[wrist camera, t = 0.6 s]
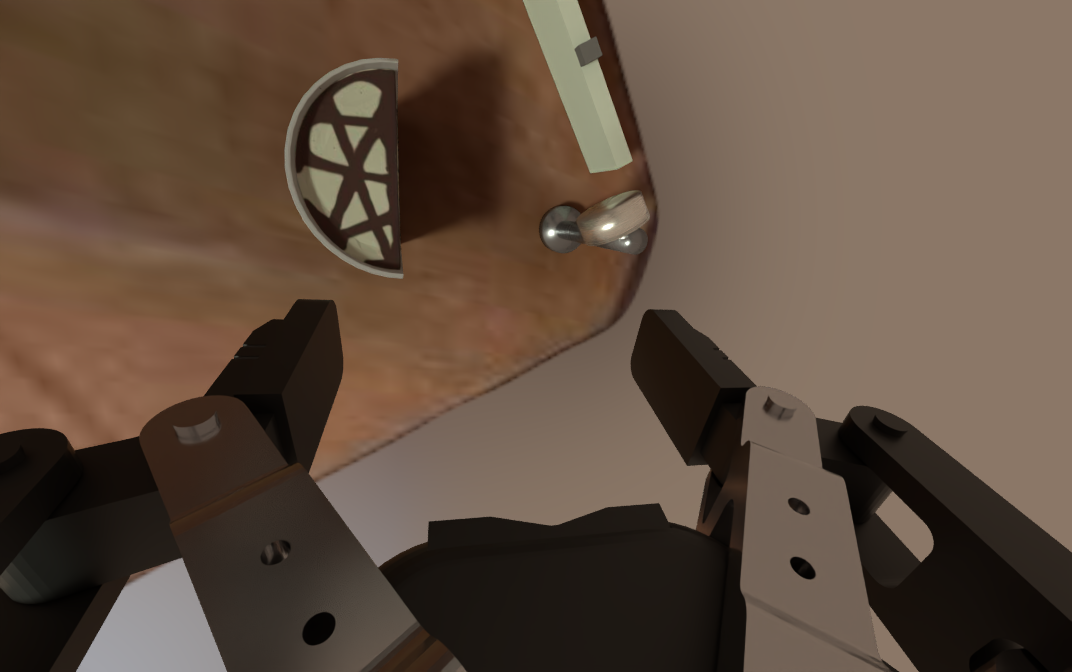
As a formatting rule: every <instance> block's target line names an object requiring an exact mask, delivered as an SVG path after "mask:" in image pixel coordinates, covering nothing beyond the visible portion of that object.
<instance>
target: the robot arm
mask: <svg viewBox="0 0 1072 672" xmlns="http://www.w3.org/2000/svg"><path fill="white" fill-rule="evenodd" d="M631 372H632V375H633V378H634V380H635V381H636V383H637V385H638V386H639V388H640V390H641V391H642V392H643V394H644V396H645V398H646V399H647V401H648V403H649V404H650V406H651V407H652V409H653V411H654V412H655V414H656V416H657V417H658V419H659V420H660V422H661V424H662V425H663V427H664V429H665V430H666V432H667V434H668V435H669V437H670V439H671V440H672V442H673V443H674V445H675V447H676V448H677V450H678V451H679V453H680V455H681V457H682V458H683V459H684V461H685V463H686V465H687V466H691V465H709V467H710V468H711V469H710V471H709V473H708V475H707V478H706V481H705V485H704V490H703V496H702V501H701V506H700V511H699V516H698V521H697V526H696V530H694V529H691V528H688V527H686V526H682V525H678V524H675V523H670V522H668V521H667V519H666V516H665V514H664V512H663V510H662V508H661V506H660V504H659V503H657V504H645V505H631V506H620V507H608V508H604V509H602V510H599V511H596V512H593V513H590V514H587V515H585V516H582V517H579V518H576V519H574V520H571V521H568V522H565V523H562V524H560V525H554V526H549V525H541V524H535V523H528V522H522V521H515V520H509V519H502V518H496V517H481V518H469V519H455V520H443V521H430V522H429V528H428V529H429V530H428V542H426V543H423V544H420V545H417V546H414V547H412V548H410V549H408V550H406V551H404V552H402V553H400V554H398V555H396V556H395V557H393V558H392V559H390V560H388V561H386V562H385V563H383V564H382V565H381V566H380V567H377V566H376V564H375V563H374V562H373V560H372V559H371V558H370V556H369V555H368V553H367V552H366V551H365V549H364V548H363V547H362V545H361V544H360V543H359V541H358V540H357V539H356V537H355V536H354V534H353V533H352V532H351V530H350V529H349V528H348V527H347V525H346V524H345V522H344V521H343V520H342V518H341V517H340V515H339V514H338V513H337V511H336V510H335V509H334V507H333V506H332V505H331V503H330V502H329V501H328V499H327V498H326V497H325V495H324V494H323V492H322V491H321V490H320V489H319V487H318V486H317V484H316V483H315V482H314V480H313V479H312V478H311V476H310V475H309V471H310V468H311V465H312V462H313V460H314V457H315V454H316V451H317V448H318V445H319V442H320V440H321V437H322V434H323V431H324V428H325V425H326V422H327V420H328V417H329V414H330V411H331V408H332V405H333V402H334V400H335V397H336V394H337V391H338V388H339V385H340V382H341V379H342V374H343V352H342V345H341V338H340V330H339V323H338V316H337V309H336V305H335V303H334V301H333V300H308V299H298V300H297V301H296V302H295V303H294V305H293V306H292V308H291V309H290V311H289V312H288V314H287V315H286V317H285V318H284V320H279V319H272V320H271V321H269V322H267V323H266V324H264V325H262V326H261V327H259V328H257V329H256V330H254V331H253V332H252V333H251V335H250V336H249V337H248V338H247V340H246V341H245V342H244V344H243V347H241V348H240V349H239V350H238V352H237V353H236V354H235V356H234V359H231V361H230V362H229V363H228V365H227V366H226V367H225V369H224V370H223V371H222V373H221V374H220V375H219V377H218V378H217V379H216V380H215V382H214V383H213V384H212V386H211V387H210V388H209V390H208V391H207V392H206V394H205V395H204V396H203V397H198V398H193V399H190V400H186V401H183V402H181V403H178V404H175V405H173V406H171V407H169V408H167V409H165V410H163V411H162V412H160V413H159V414H157V415H156V416H154V417H153V418H152V419H151V420H150V421H149V422H147V424H146V425H145V426H144V427H143V429H142V431H141V433H140V436H138V437H134V438H130V439H126V440H121V441H117V442H112V443H107V444H103V445H98V446H93V447H89V448H84V449H79V450H75V451H74V449H73V447H72V446H71V444H70V442H69V441H68V439H67V437H66V436H65V435H64V434H63V433H61V432H59V431H56V430H52V429H44V428H33V429H23V430H17V431H12V432H7V433H3V434H0V672H76V670H77V669H78V667H79V665H80V663H81V661H82V660H83V658H84V656H85V655H86V653H87V651H88V649H89V647H90V646H91V644H92V642H93V640H94V639H95V637H96V635H97V633H98V632H99V630H100V628H101V626H102V625H103V623H104V621H105V619H106V617H107V616H108V614H109V612H110V610H111V609H112V607H113V605H114V603H115V602H116V600H117V598H118V596H119V595H120V593H121V591H122V589H123V588H124V586H125V584H126V582H127V580H128V579H129V577H130V575H131V574H134V573H137V572H140V571H143V570H146V569H149V568H152V567H155V566H158V565H161V564H164V563H167V562H170V561H173V560H176V559H179V558H183V561H184V563H185V566H186V568H187V571H188V573H189V576H190V579H191V581H192V584H193V586H194V589H195V591H196V593H197V596H198V599H199V601H200V604H201V606H202V609H203V612H204V614H205V617H206V619H207V622H208V624H209V627H210V629H211V632H212V634H213V637H214V639H215V642H216V644H217V647H218V649H219V652H220V655H221V657H222V659H223V662H224V665H225V667H226V670H227V672H899V671H897V670H896V669H894V668H893V667H892V666H890V665H889V664H888V663H886V662H885V661H883V660H882V659H881V658H880V655H879V653H878V649H877V644H876V639H875V634H874V628H873V623H872V618H871V613H870V608H869V605H870V607H871V608H872V609H873V611H874V612H875V613H876V615H877V616H878V617H879V619H880V620H881V621H882V623H883V624H884V626H885V627H886V628H887V629H888V631H889V632H890V634H891V635H892V636H893V638H894V639H895V640H896V642H897V643H898V644H899V646H900V647H901V648H902V650H903V651H904V652H905V654H906V655H907V657H908V658H909V659H910V660H911V662H912V663H913V665H914V666H915V667H916V669H917V670H918V671H919V672H1072V552H1070V551H1069V550H1068V549H1067V548H1065V547H1064V546H1063V545H1062V544H1060V543H1059V542H1058V541H1057V540H1055V539H1054V538H1053V537H1051V536H1050V535H1049V534H1048V533H1046V532H1045V531H1044V530H1043V529H1042V528H1040V527H1039V526H1038V525H1037V524H1035V523H1034V522H1033V521H1032V520H1030V519H1029V518H1028V517H1026V516H1025V515H1024V514H1023V513H1022V512H1020V511H1019V510H1018V509H1016V508H1015V507H1014V506H1013V505H1011V504H1010V503H1009V502H1008V501H1006V500H1005V499H1004V498H1003V497H1001V496H1000V495H999V494H998V493H996V492H995V491H994V490H993V489H991V488H990V487H989V486H988V485H986V484H985V483H984V482H983V481H981V480H980V479H979V478H978V477H976V476H975V475H974V474H972V473H971V472H970V471H969V470H968V469H966V468H965V467H964V466H962V465H961V464H960V463H959V462H958V461H956V460H955V459H954V458H952V457H951V456H950V455H949V454H948V453H946V452H945V451H944V450H942V449H941V448H940V447H939V446H937V445H936V444H935V443H934V442H932V441H931V440H930V439H929V438H927V437H926V436H925V435H924V434H922V433H921V432H920V431H919V430H917V429H916V428H915V427H914V426H912V425H911V424H909V423H908V422H906V421H905V420H903V419H901V418H899V417H897V416H895V415H893V414H891V413H888V412H886V411H884V410H880V409H877V408H873V407H868V406H856V407H853V408H852V409H851V410H850V412H849V413H848V415H847V416H846V418H845V420H844V421H843V423H840V422H834V421H829V420H825V419H819V418H815V415H814V413H813V412H812V411H811V409H810V408H809V407H808V406H807V405H806V404H805V403H803V402H802V401H801V400H799V399H798V398H796V397H794V396H792V395H790V394H788V393H786V392H784V391H781V390H778V389H775V388H770V387H763V386H758V387H757V386H756V385H755V384H754V383H753V382H752V381H751V380H750V379H749V378H748V377H747V376H746V375H745V374H744V373H743V372H742V371H741V370H740V369H739V368H738V367H737V366H736V365H735V364H734V363H733V362H732V361H731V360H728V357H727V356H726V355H725V354H724V353H723V352H722V351H721V350H719V348H718V347H717V346H716V345H715V344H714V343H713V342H712V341H711V340H710V339H709V338H708V337H707V336H705V335H703V334H702V333H700V332H698V331H697V330H695V329H693V327H692V326H691V325H690V324H689V323H688V322H687V321H686V320H685V319H684V318H683V317H682V316H681V315H680V314H679V313H678V312H677V311H675V310H653V309H650V310H647V311H646V312H645V314H644V315H643V318H642V321H641V324H640V328H639V332H638V335H637V339H636V342H635V346H634V350H633V353H632V357H631ZM892 491H893V492H894V493H895V494H896V495H897V496H898V497H899V498H900V499H902V501H903V502H904V503H905V504H906V505H907V506H908V507H909V508H910V509H911V510H912V511H913V512H915V513H916V515H918V516H919V517H920V519H921V520H923V522H924V523H925V524H926V525H927V526H928V528H929V529H930V531H931V533H932V536H933V540H934V546H933V550H932V552H931V553H930V554H929V555H928V556H927V557H926V558H925V559H924V560H923V561H922V562H920V561H919V560H918V559H917V558H916V557H915V556H914V555H913V553H912V552H911V551H910V550H909V549H908V548H907V547H906V546H905V545H904V544H903V543H902V542H901V540H899V538H898V537H897V536H896V535H895V534H894V533H893V532H892V531H891V529H890V528H889V527H888V526H887V525H886V524H885V523H884V522H883V521H882V520H881V519H880V517H879V516H878V515H877V514H876V513H875V512H876V510H877V509H878V508H879V507H880V506H881V504H882V503H883V502H884V501H885V499H886V498H887V497H888V496H889V494H890V493H891V492H892Z"/></svg>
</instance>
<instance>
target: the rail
mask: <svg viewBox="0 0 1072 672" xmlns="http://www.w3.org/2000/svg"><path fill="white" fill-rule="evenodd" d="M523 2H524V5H525V7H526V10H527V12H528V15H529V17H530V20H531V23H532V25H533V28H534V30H535V33H536V35H537V38H538V40H539V43H540V46H541V48H542V51H543V53H544V56H545V58H546V61H547V63H548V66H549V69H550V71H551V74H552V76H553V79H554V81H555V84H556V86H557V89H558V92H559V94H560V97H561V99H562V102H563V104H564V107H565V109H566V112H567V115H568V117H569V120H570V122H571V125H572V127H573V130H574V133H575V135H576V138H577V140H578V143H579V145H580V148H581V150H582V153H583V156H584V158H585V161H586V163H587V166H588V168H589V171H590V173H595V172H602V171H609V170H616V169H619V168H621V167H623V166H624V165H626V164H628V163H630V162H631V161H633V160H632V157H631V155H630V152H629V149H628V146H627V143H626V140H625V137H624V134H623V131H622V128H621V126H620V123H619V120H618V117H617V114H616V111H615V108H614V105H613V102H612V99H611V97H610V94H609V91H608V88H607V85H606V82H605V79H604V76H603V73H602V70H601V68H600V65H599V62H598V58H599V57H601V56H602V52H601V49H600V46H599V43H598V40H597V37H594V38H592V39H590V36H589V33H588V30H587V27H586V24H585V21H584V18H583V15H582V12H581V10H580V7H579V4H578V1H577V0H523Z"/></svg>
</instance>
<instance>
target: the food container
mask: <svg viewBox="0 0 1072 672" xmlns="http://www.w3.org/2000/svg"><path fill="white" fill-rule="evenodd" d="M397 95H398V59H388V58H374V59H363V60H359V61H355V62H352V63H348V64H345V65H343V66H341V67H339V68H337V69H335V70H333V71H331V72H329V73H327V74H326V75H325V76H323V77H322V78H321V79H320V80H318V81H317V82H316V83H315V84H314V85H313V86H312V87H311V88H310V89H309V90H308V91H307V93H306V94H305V95H304V96H303V97H302V99H301V101H300V103H299V104H298V106H297V108H296V109H295V111H294V113H293V116H292V119H291V122H290V124H289V127H288V131H287V137H286V144H285V171H286V176H287V182H288V187H289V190H290V192H291V195H292V198H293V201H294V204H295V206H296V208H297V209H298V211H299V213H300V215H301V217H302V219H303V221H304V222H305V223H306V225H307V226H308V227H309V229H310V230H311V231H312V233H313V234H314V235H315V236H316V237H317V238H318V239H319V240H320V241H321V243H322V244H323V245H324V246H325V247H326V248H328V249H329V250H330V251H331V252H333V253H334V254H335V255H337V256H338V257H339V258H341V259H342V260H344V261H346V262H348V263H349V264H351V265H353V266H355V267H356V268H359V269H362V270H364V271H367V272H369V273H372V274H376V275H380V276H384V277H389V278H401V279H403V267H402V256H401V244H400V240H401V238H400V236H401V234H400V212H399V201H400V198H399V165H398V157H399V156H398V151H399V149H398V143H399V141H398V133H397V127H398V124H397V112H398V111H397Z"/></svg>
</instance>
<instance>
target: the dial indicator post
mask: <svg viewBox="0 0 1072 672" xmlns="http://www.w3.org/2000/svg"><path fill="white" fill-rule="evenodd" d="M649 218H650V215H649V212H648V210H647V207H646V204H645V201H644V198H643V195H642V192H641V191H640V190H633V191H628V192H625V193H621V194H618V195H616V196H613V197H611V198H608V199H606V200H604V201H602V202H600V203H598V204H596V205H594V206H592V207H591V208H589V209H587V210H586V211H584V212H583V213H582V214H580V213H579V212H578V211H577V210H576V209H574V208H572V207H569V206H556V207H553V208H551V209H550V210H548V211H547V212H546V213H545V214H544V216H543V217H542V219H541V222H540V226H539V233H540V238H541V240H542V242H543V243H544V245H545V246H546V247H547V248H549V249H550V250H552V251H555V252H559V253H568V252H571V251H573V250H575V249H576V248H577V247H578V246H579V245H580V244H581V243H583V244H586V245H588V246H597V247H601V248H606V249H611V250H615V251H620V252H625V253H629V254H639V253H641V252H642V251H643V250H644V249H645V248H646V245H647V241H648V239H647V235H646V233H645V231H644V230H642V229H640V227H641V226H643V225H644V224H645V223H646V222H647V221H648V220H649Z"/></svg>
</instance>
